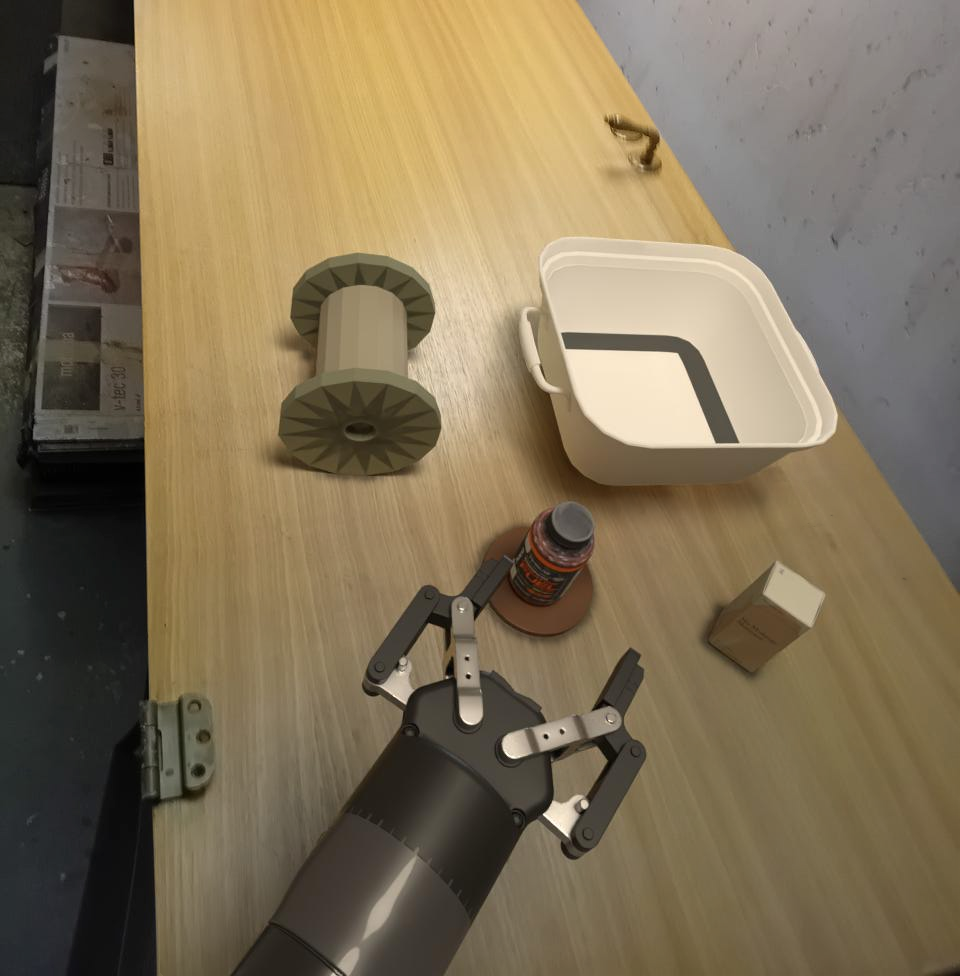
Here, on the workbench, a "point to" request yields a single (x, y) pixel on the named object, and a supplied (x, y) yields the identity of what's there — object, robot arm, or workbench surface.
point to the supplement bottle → (553, 553)
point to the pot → (670, 363)
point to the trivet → (530, 615)
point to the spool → (361, 367)
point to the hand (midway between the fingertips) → (567, 609)
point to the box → (767, 617)
